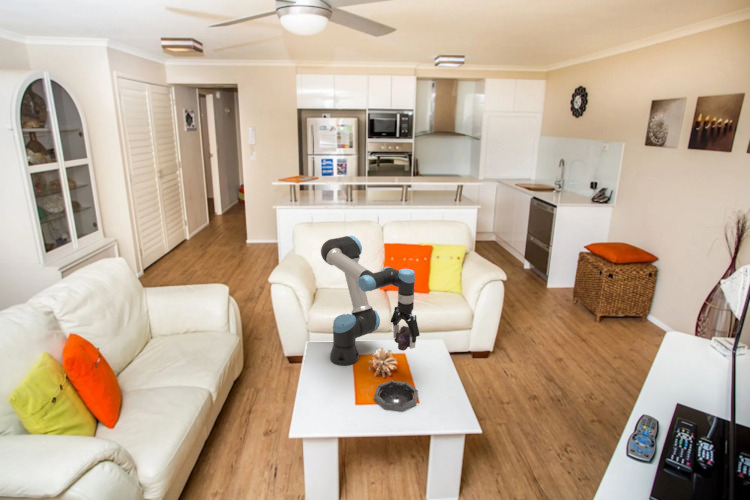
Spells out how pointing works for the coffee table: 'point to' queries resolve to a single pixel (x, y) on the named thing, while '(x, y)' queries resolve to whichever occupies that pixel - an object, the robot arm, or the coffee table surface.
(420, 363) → the coffee table surface
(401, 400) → the collar
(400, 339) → the rock
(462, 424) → the coffee table surface
